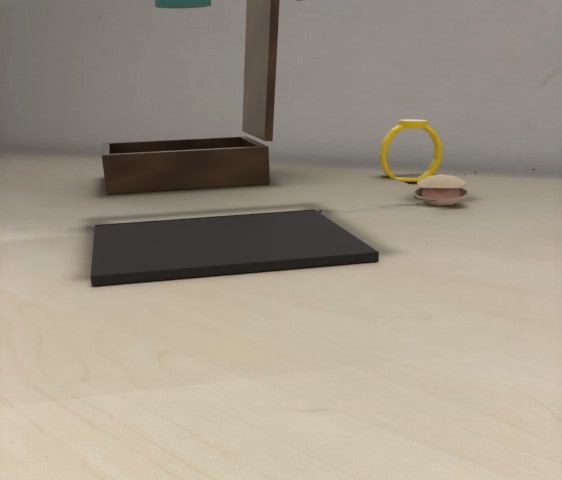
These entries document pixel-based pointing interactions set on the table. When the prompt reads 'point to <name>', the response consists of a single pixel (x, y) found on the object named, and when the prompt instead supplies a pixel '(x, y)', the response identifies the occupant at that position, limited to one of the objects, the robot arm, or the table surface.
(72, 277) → the table surface
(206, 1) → the bottle
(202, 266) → the mat
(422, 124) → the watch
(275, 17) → the lid
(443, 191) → the macaroon
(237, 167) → the brown wooden tray
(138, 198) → the table surface
